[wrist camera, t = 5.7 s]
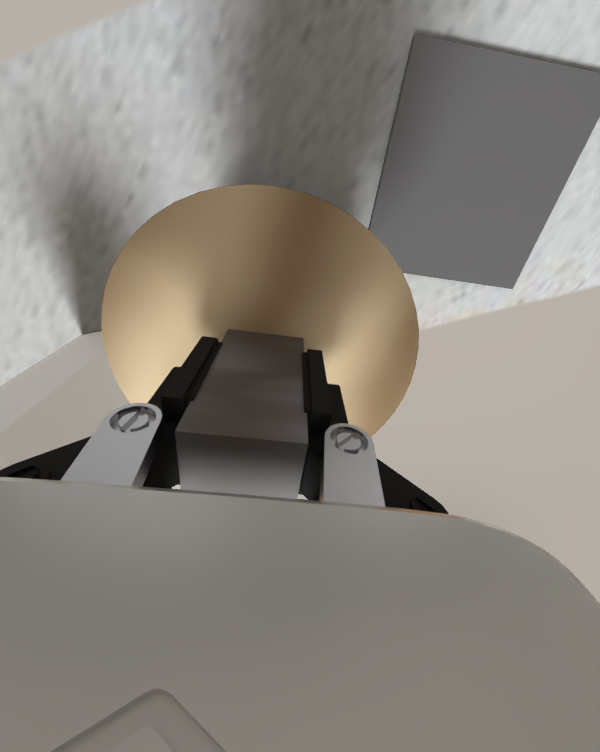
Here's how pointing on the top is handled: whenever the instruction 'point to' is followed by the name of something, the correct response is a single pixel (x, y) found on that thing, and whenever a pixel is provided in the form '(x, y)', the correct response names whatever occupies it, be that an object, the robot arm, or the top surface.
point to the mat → (478, 159)
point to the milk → (57, 400)
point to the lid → (258, 327)
